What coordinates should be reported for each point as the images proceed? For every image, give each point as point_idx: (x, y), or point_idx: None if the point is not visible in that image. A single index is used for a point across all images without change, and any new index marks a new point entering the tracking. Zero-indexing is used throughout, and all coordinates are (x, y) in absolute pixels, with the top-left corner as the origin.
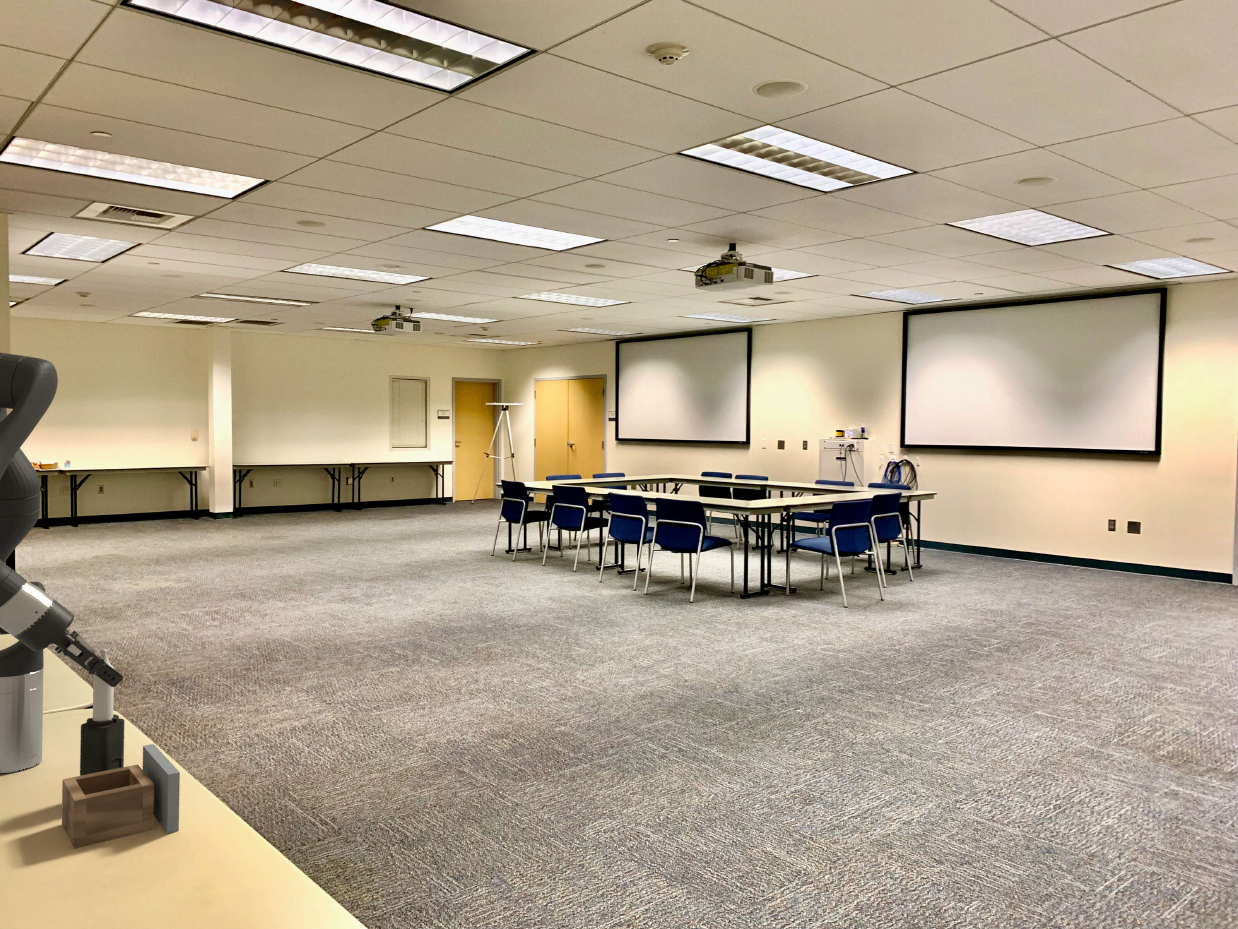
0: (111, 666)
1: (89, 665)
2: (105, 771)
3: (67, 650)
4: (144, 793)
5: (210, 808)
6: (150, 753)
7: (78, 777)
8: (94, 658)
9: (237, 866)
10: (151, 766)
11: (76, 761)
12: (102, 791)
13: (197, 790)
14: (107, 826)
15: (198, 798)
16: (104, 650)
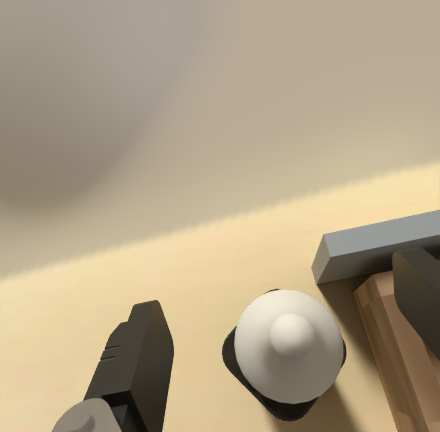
0: (302, 298)
1: (157, 428)
2: (405, 345)
3: None
4: None
5: (399, 183)
6: (401, 240)
7: (432, 411)
8: (142, 402)
9: None
10: (412, 246)
11: (38, 401)
12: None
13: (305, 199)
14: None
15: (344, 199)
16: (312, 332)
